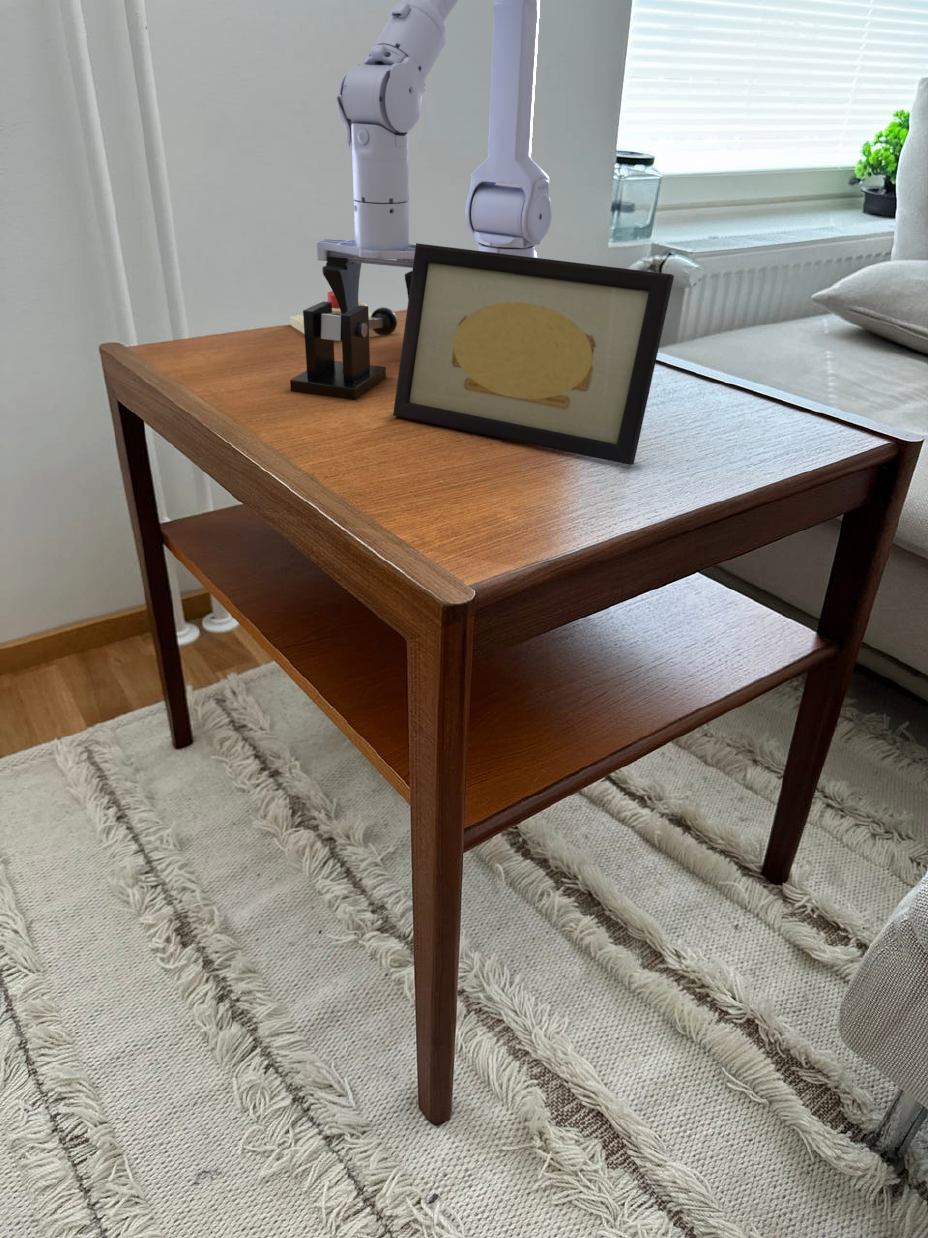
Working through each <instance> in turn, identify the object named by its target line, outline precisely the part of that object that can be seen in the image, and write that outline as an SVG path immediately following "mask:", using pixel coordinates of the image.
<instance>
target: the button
mask: <svg viewBox="0 0 928 1238" xmlns="http://www.w3.org/2000/svg"><path fill="white" fill-rule="evenodd" d="M326 293H327V294H326V295H327V300H328V302H332V308H335V309H340V308H339V305H338V302H337V300H336V297H335V295H334V293H333V291H332V290H331V291H328V292H326Z"/></svg>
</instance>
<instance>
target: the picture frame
mask: <svg viewBox="0 0 928 1238" xmlns="http://www.w3.org/2000/svg"><path fill="white" fill-rule="evenodd" d="M415 245H416V247H415V255H414V262H413V268H412V270H411V271H412V277H411V285H410V292H409V300H407V308H406V316H405V323H404V331H403V338H402V344H401V352H400V360H399V368H398V375H397V382H396V389H395V396H394V397H395V398H394V404H393V412H392V416H393V417H398V418H404V419H408V420H413V421H417V422H423V423H427V424H433V425H437V426H442V427H446V428H451V429H457V430H461V431H464V432H465V431H466V432H470V433H475V434H480V435H484V436H489V437H494V438H500V439H504V440H509V441H514V442H518V443H523V444H527V445H532V446H536V447H537V446H538V447H542V448H545V449H552V450H556V451H561V452H565V453H566V452H567V453H571V454H575V455H580V456H585V457H590V458H594V459H599V460H604V461H610V462H613V463H618V464H623V465H628V466H634V465H635V461H636V455H637V451H638V446H639V442H640V438H641V437H640V436H641V431H642V428H643V423H644V419H645V413H646V408H647V404H648V400H649V394H650V390H651V386H652V381H653V378H654V377H653V376H654V372H655V367H656V362H657V358H658V354H659V353H658V352H659V349H660V343H661V339H662V335H663V330H664V325H665V321H666V315H667V312H668V311H667V310H668V307H669V302H670V298H671V292H672V288H673V283H674V278H675V275H674V274H672V273H665V272H658V271H649V270H640V269H633V268H623V267H615V266H606V265H600V264H591V263H590V264H589V263H582V262H575V261H565V260H557V259H550V258H541V257H537V258H534V257H526V256H517V255H509V254H501V253H493V252H484V251H478V250H477V249H476V250H475V249H467V248H461V247H460V248H459V247H450V246H441V245H436V244H435V245H433V244H425V243H419V242H418V243H417V242H415Z"/></svg>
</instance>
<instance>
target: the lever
mask: <svg viewBox="0 0 928 1238" xmlns="http://www.w3.org/2000/svg"><path fill="white" fill-rule="evenodd" d="M371 313H372V315H371V317H370V318H369V329H373V331H374V332H375V333H376V334H378V335H381V336H382V337H388V336H391V335H392V334H391V333H393V332H394V330H395V331H396V329H397V325H398V318H397V315H396V314H395V312H394V311H393V310H392V309H390V308H388V307H378V308H376V309H375V310H374V311H373V312H371ZM341 315H342V314H340V313H324V314H321V339H323V340H332V341H334V342H341V343H342V331H341Z"/></svg>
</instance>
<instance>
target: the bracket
mask: <svg viewBox="0 0 928 1238" xmlns="http://www.w3.org/2000/svg"><path fill="white" fill-rule="evenodd" d="M322 301H323V302H322ZM322 301H320V302H321V303H318V302H317V303H318V304H317V303H316V304H314V305H312V306H309V307H308V308H305V309H303V310H302V315H303V319H304V333H303V335H304V346H305V347H304V349H305V362H306V363H305V365H306V369H305V371H302V372H301V373H299V374H297V375H296V376H294V377H293V378H291V379H290V380H289V385H290V392H293V393H301V394H307V395H314V396H320V397H322V396H323V397H328V398H335V399H344V400H351V401H356V400H357V399H358V398H360V397H361V396H363V395H364V394H365V393H367V392H368V391H370V390H371V389H373V388H374V387H375V386H377V385H378V384H380V383H381V382H382V381H384V380H385V379H386V378H387V367H386V366H381V365H374V364H371V352H370V350H371V349H370V337H369V313H368V311H369V306H368V305H367V306H362V305H359V306H357V307H355V308H353V309H351V310H349V311H347V312H345V313H344V314H342V315H341V331H342V341H341V351H342V354H341V355H342V360H336V359H335V343H334V342H335V341H332V340H323V339H321V314H324V313H332V302H325V300H322Z"/></svg>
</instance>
